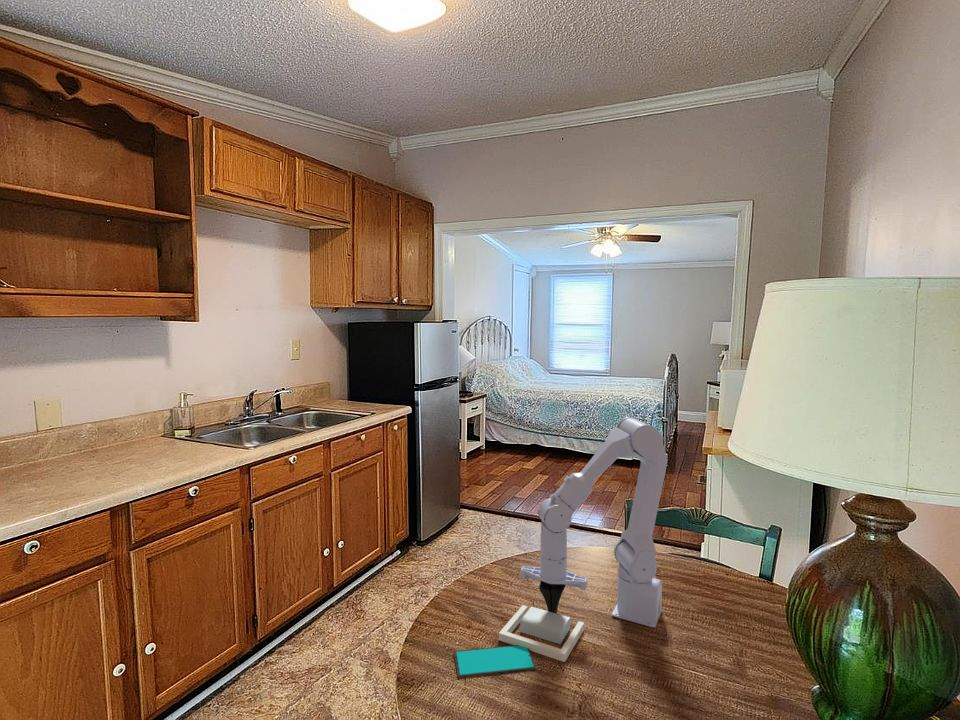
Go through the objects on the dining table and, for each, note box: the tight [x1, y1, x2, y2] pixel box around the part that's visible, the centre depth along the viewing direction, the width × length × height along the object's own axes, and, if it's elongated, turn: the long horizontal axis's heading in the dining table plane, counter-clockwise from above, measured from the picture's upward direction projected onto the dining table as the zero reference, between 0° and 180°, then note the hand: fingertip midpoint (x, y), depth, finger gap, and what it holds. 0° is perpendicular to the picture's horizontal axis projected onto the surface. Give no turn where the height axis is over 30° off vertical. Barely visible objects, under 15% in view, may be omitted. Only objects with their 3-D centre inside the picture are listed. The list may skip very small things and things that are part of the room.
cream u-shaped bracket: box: [498, 604, 585, 663], centre depth 112 cm, size 14×12×2 cm
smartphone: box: [453, 645, 536, 679], centre depth 103 cm, size 7×1×15 cm
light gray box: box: [519, 606, 571, 645], centre depth 113 cm, size 9×6×3 cm, turn 61°
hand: (552, 613), depth 117 cm, fingers closed
